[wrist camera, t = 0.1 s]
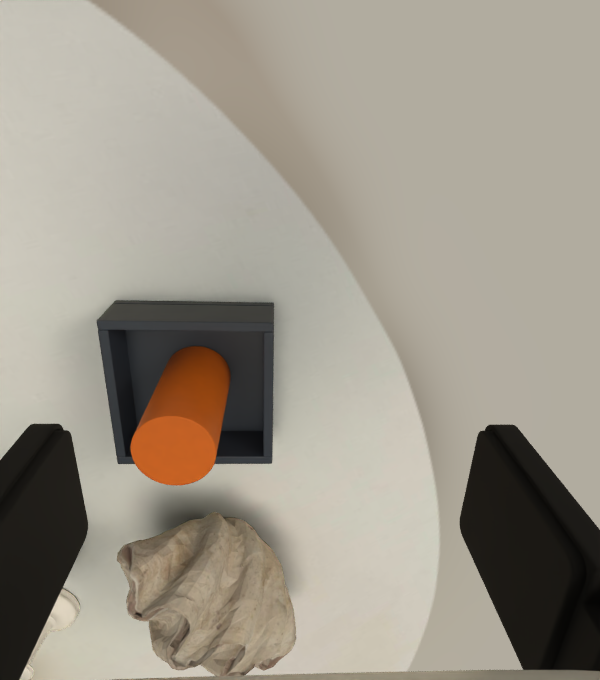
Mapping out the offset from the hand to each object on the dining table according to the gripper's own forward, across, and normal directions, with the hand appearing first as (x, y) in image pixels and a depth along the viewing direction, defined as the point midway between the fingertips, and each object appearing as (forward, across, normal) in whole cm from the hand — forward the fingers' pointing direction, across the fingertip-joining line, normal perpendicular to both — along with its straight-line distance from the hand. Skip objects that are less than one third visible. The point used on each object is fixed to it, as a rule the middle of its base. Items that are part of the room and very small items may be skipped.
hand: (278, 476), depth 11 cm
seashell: (+21, +4, +24) cm, 32 cm away
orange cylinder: (+20, +5, +8) cm, 23 cm away
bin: (+21, +5, +8) cm, 23 cm away
